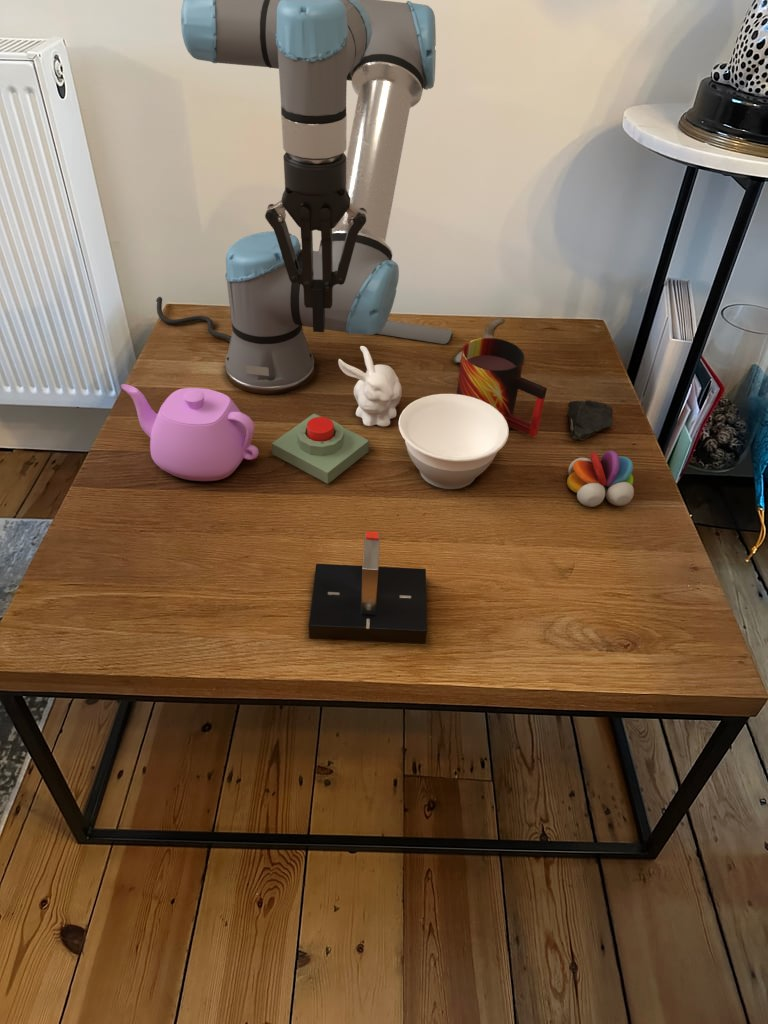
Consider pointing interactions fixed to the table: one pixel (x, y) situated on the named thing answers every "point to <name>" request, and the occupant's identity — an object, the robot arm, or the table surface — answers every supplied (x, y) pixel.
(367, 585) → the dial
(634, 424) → the table surface
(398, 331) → the half round rod
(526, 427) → the mug
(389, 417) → the rabbit
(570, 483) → the rainbow petal toy
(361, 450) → the button box
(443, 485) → the bowl
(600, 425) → the rock
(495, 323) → the skull
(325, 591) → the control panel
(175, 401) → the teapot
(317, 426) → the button
